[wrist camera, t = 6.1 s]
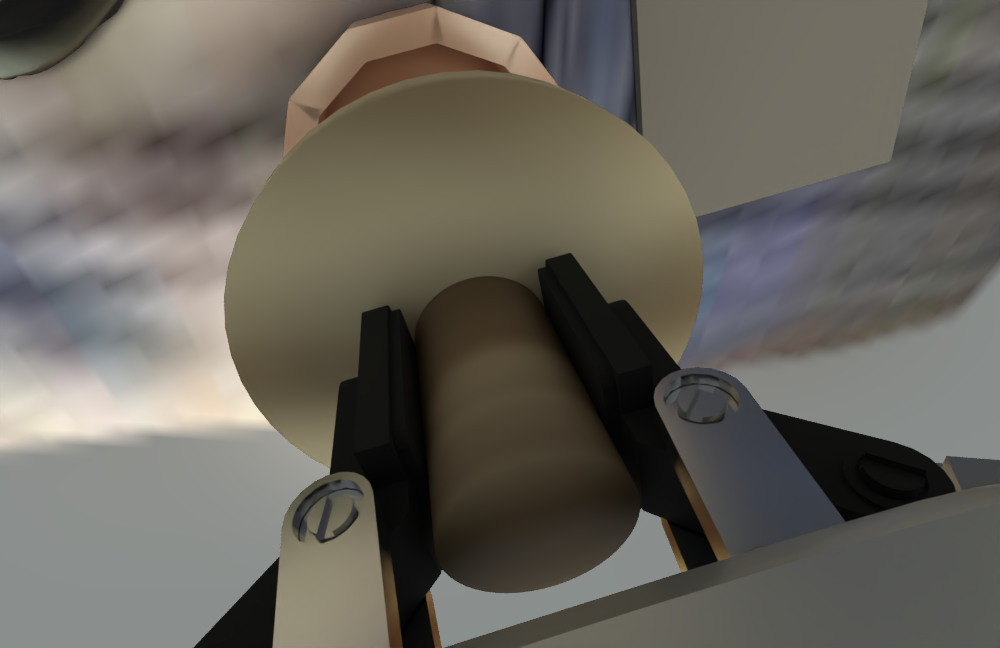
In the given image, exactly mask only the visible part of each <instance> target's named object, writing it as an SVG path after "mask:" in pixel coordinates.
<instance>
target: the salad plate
mask: <svg viewBox="0 0 1000 648" xmlns="http://www.w3.org/2000/svg"><path fill="white" fill-rule="evenodd" d="M123 1H124V0H0V79H4V80H9V79H14V78H16V77H18V76H23V75H33V74H36V73H40V72H42V71H44V70H47V69H49V68H51V67H53V66H54V65H56V64H57V63H59V62H60V61H62V60H63V59H65V58H66V57H67V56H69V55H70V54H72V53H73V52H74V51H75V50H76V49H78V48H79V47H80V46H81V45H82V44H83V43H84V41H85V40H86V39H87V37H88V36H89V35H90V34H91V33H92V32H93V31H94V30H95V29H96V28H97V27H98V26H100V25H101V24H102V23H104V22H105V21H106V20H108V19H109V18H111V17H112V16H113V15H114V14H115V13H116V12H117V11H118V9H119V7H120V6H121V4H122V2H123Z"/></svg>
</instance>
